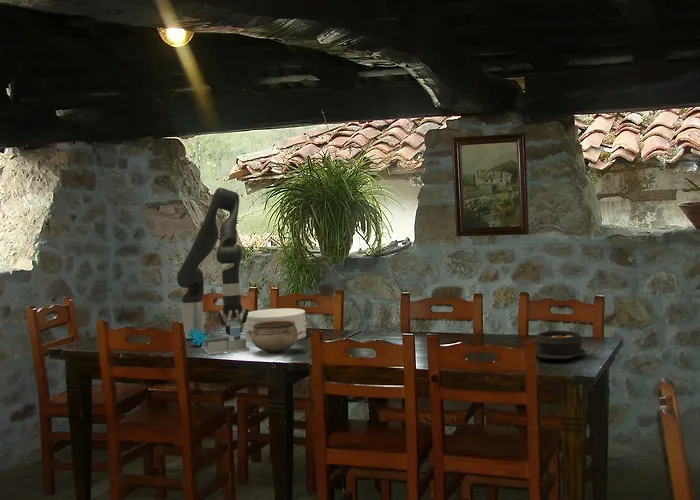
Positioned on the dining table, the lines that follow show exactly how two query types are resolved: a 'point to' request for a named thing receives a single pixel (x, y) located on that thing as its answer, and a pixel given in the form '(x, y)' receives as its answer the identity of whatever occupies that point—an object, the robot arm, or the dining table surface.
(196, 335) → the gear
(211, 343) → the plate
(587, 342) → the dining table surface
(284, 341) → the cooking pot
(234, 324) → the block
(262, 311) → the plate stack
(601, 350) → the dining table surface
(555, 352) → the casserole
